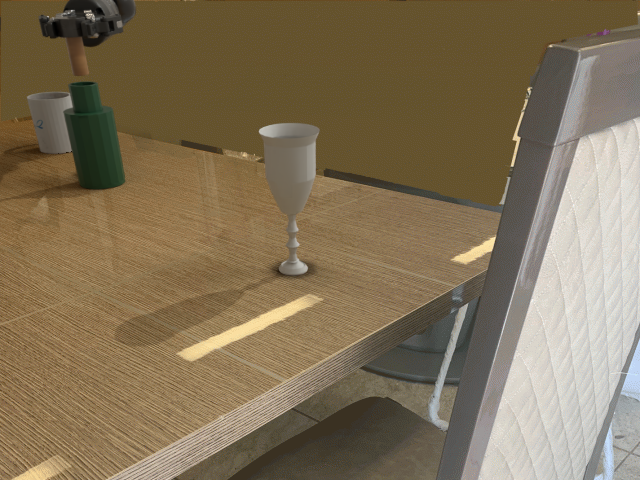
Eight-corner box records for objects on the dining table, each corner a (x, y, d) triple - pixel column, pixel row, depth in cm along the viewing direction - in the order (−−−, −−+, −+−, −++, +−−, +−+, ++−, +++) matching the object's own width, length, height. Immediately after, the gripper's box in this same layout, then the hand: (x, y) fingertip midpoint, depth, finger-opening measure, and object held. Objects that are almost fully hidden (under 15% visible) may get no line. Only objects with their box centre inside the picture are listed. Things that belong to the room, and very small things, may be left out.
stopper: (63, 77, 104) (50, 19, 99) (70, 72, 107) (58, 16, 103) (92, 76, 104) (80, 18, 99) (98, 72, 108) (87, 15, 103)
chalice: (275, 267, 86) (268, 121, 75) (325, 271, 85) (325, 124, 74) (260, 291, 80) (250, 136, 69) (313, 295, 79) (312, 140, 68)
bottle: (75, 189, 113) (52, 88, 103) (85, 176, 119) (64, 80, 109) (121, 188, 113) (102, 87, 104) (128, 175, 120) (111, 79, 110)
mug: (83, 151, 133) (72, 98, 127) (39, 155, 131) (26, 101, 125) (81, 137, 143) (70, 87, 137) (40, 141, 140) (27, 90, 134)
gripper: (44, -6, 110) (13, 2, 97) (128, -7, 111) (109, 1, 98) (55, 44, 115) (27, 58, 101) (135, 43, 116) (118, 57, 102)
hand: (67, 30), depth 100 cm, fingers closed on stopper, 4 cm apart
